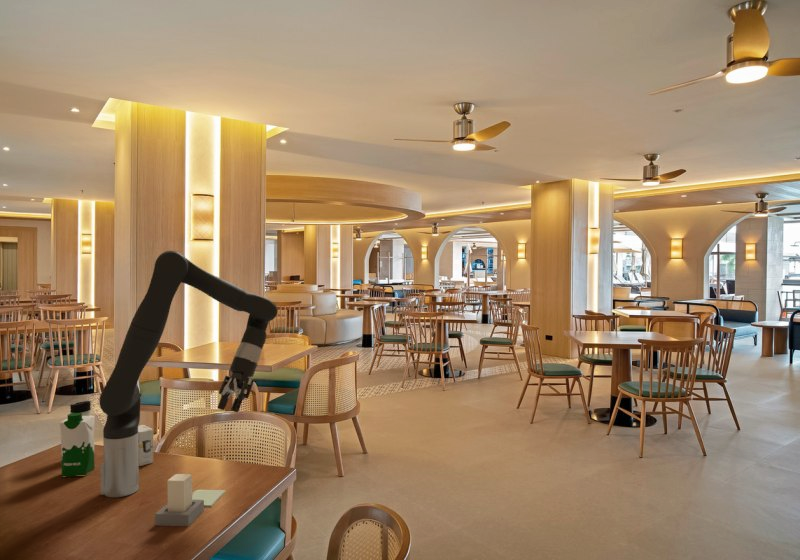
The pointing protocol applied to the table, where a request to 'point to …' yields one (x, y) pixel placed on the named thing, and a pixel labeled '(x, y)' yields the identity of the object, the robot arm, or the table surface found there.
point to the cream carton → (180, 493)
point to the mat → (208, 496)
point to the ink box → (145, 445)
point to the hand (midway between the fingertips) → (227, 410)
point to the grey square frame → (179, 515)
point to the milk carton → (77, 444)
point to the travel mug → (81, 408)
